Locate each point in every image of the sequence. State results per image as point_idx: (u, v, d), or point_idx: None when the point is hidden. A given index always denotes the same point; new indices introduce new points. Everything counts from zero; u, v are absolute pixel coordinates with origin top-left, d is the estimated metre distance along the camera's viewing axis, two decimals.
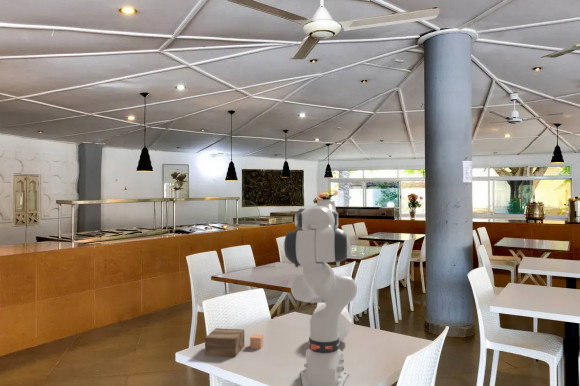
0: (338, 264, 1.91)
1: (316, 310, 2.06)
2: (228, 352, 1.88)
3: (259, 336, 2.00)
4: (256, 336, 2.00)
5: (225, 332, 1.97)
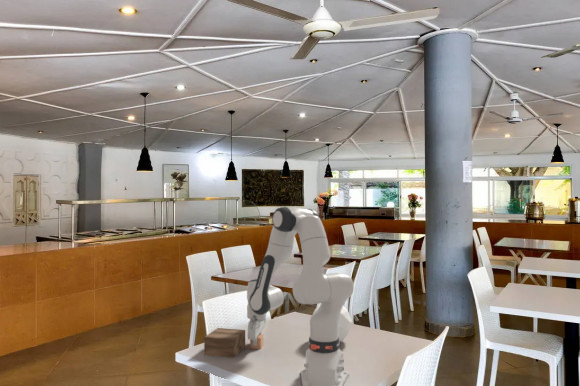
0: None
1: (316, 310, 2.06)
2: (227, 352, 1.88)
3: (259, 336, 2.00)
4: None
5: (226, 332, 1.97)
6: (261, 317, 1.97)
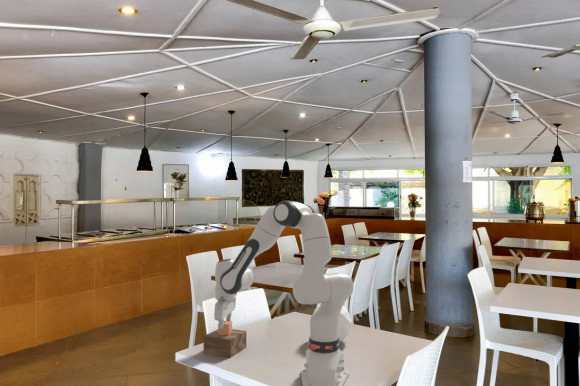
0: (230, 320, 2.01)
1: (316, 310, 2.06)
2: (224, 352, 1.88)
3: (227, 322, 1.96)
4: (224, 322, 1.96)
5: None
6: (229, 298, 1.93)
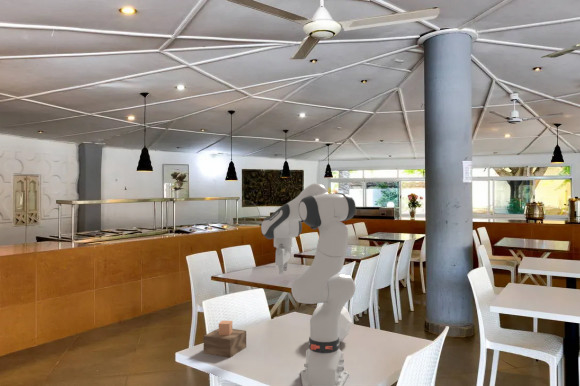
0: (286, 268, 2.09)
1: (316, 310, 2.06)
2: (224, 352, 1.89)
3: (228, 322, 1.96)
4: (225, 322, 1.96)
5: None
6: (288, 245, 2.01)
